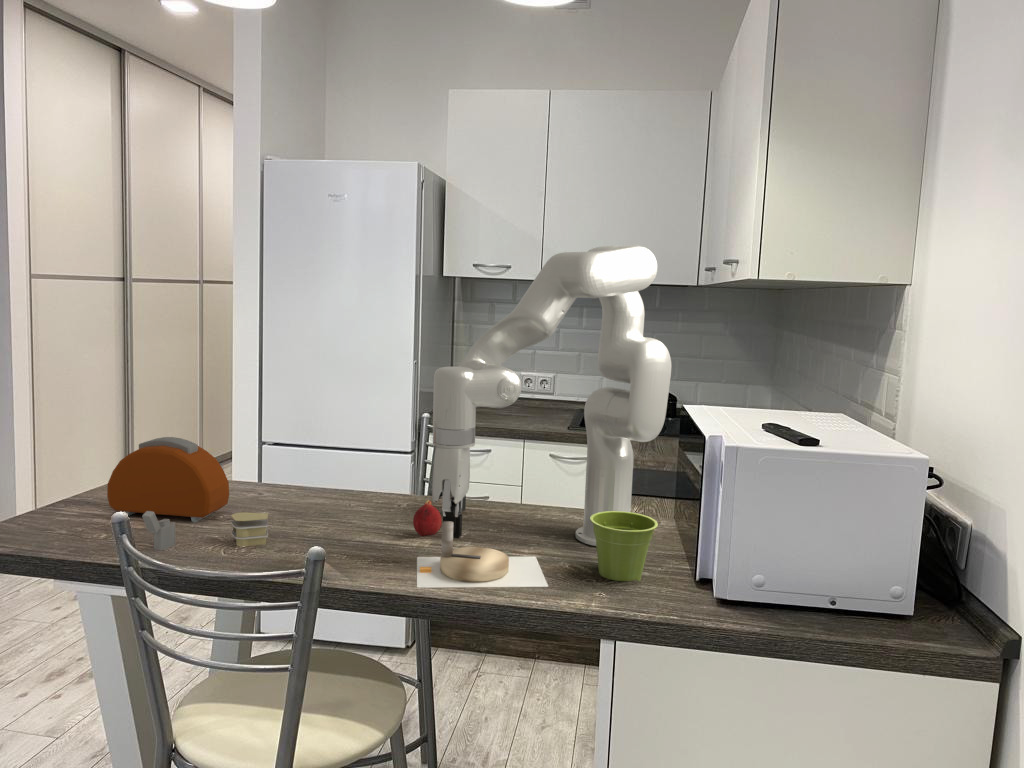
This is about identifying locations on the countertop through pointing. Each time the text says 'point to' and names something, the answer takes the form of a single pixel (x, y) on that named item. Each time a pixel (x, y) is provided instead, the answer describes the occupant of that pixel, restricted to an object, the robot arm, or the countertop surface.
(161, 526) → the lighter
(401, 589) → the countertop surface
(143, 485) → the orange toaster
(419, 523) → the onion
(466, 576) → the capstan dial
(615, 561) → the plant pot
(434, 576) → the stand
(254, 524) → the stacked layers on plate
